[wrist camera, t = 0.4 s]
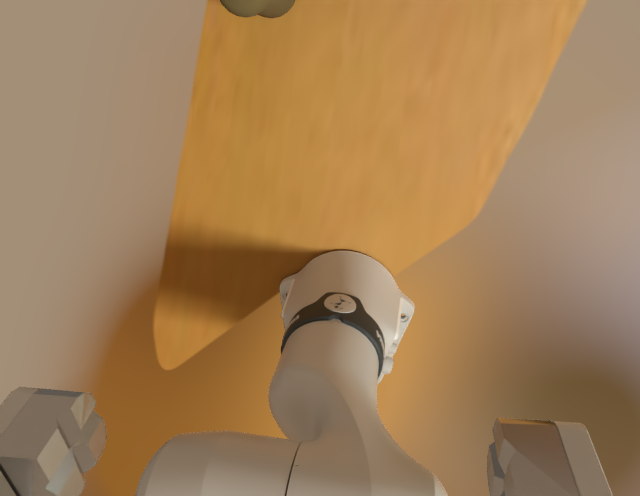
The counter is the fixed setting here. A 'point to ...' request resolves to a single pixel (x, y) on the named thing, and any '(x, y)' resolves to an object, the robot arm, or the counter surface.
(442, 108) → the counter surface
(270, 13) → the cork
